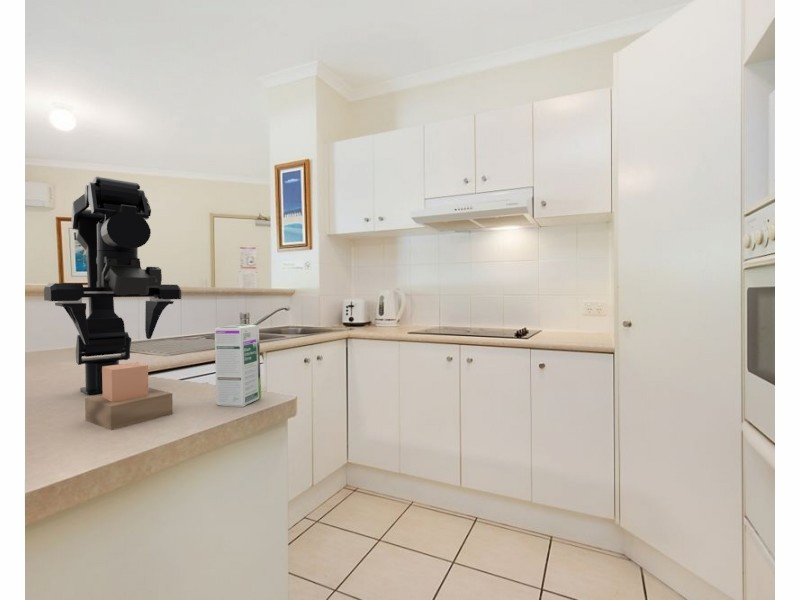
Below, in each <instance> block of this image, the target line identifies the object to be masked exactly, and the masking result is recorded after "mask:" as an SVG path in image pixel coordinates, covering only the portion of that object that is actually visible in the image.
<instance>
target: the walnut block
mask: <svg viewBox="0 0 800 600" xmlns="http://www.w3.org/2000/svg"><path fill="white" fill-rule="evenodd" d="M84 406H85V408H84V409H85V410H84V411H85V413H84V414H85V417H84V418H85V421H86V422H89V423H91V424H94V425H96V426H100V427H101V428H104V429H107V430H109V431H113V430H117V429H122V428H126V427H129V426H132V425H137V424H141V423H145V422H148V421H152V420H155V419H160V418H163V417H167V416H171V415H173V393H172V392H169V391H165V390H160V389H156V388H152V387H148V396H143V397H137V398H132V399H126V400H121V401H115V402H111V401H109V400H107V399H106V398H104V397H103V394H100V395H94V396H90V397H89V396H88V397H85V398H84Z"/></svg>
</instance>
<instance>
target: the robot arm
mask: <svg viewBox="0 0 800 600" xmlns="http://www.w3.org/2000/svg"><path fill="white" fill-rule="evenodd" d="M89 208H90V209H89ZM151 213H152V209H151V206H150V203H149V200H148V197H147V196H146V194H145V191H144V190H142V189H141V186H140V184H139V183H138V182H133V181H132V182H131V181H127V180H120V179H114V178H108V177H101V176H97V175H96V176H95V177H94V178H93V179H92V182H91V181H90V182H88V185H87V184H86V185H85V188H84V194H82V195H80V197H78V198H76V199H75V200H74V201H73V202H72V207H71V229H72V230H75V239H76V241H77V242H78V243H79V244H80V246H81V247H82V248H83V249H84V250H85V255H86V257H85V259H86V272H87V273H86V275H87V276H86V277H87V278H86V279H87V286H85V287H84V284H83V283H66V282H63V283H62V282H61V283H60V282H58V283H57V282H56V283H55V282H53V283H51V282H48V284H46V285H45V286H44V288H43V299H44V301H45V302H46V301H48V302H54V305H55V306H56V307H62V308H63V309H64V310H65V311H66V313H67V314H68V316H69V318H70V319H71V320H72V322H73V324H74V326H75V328H76V331H78V334H77V336H76V345H75V363H76V364H77V365H78V366H80V365H84V364H85V365H84V368H85V369H84V370H85V371H84V372H85V373H84V374H85V375H84V376H85V377H84V378H85V386H84V387H80V388H79V391H81V392H83V393H84V394H86V395H94V394H101V393H102V394H103V387H102V366H110V365H119V364H120V361H123V360H124V361H128V360H129V359H131V346H132V338H131V337H130V335H129V332H128V331H126V329H125V321H124V319H123V318H122V317H121V316H120V317H119V316H118V314H117V313H116V312H115V303H114V298H147V297H149V300H145V313H144V314H145V315H144V316H145V319H144V320H145V324H144V325H145V326H144V327H145V329H144V330H145V337H146V339H147V340H150V339H152V336H153V334H154V331H155V329H156V326H157V324H158V321H159V319H160V316H161V315H162V314H163V313H162V312H163V311H164V310H165V309H166V308H167V306H169V305H173V304H174V303H175V301H173V300H182V290H181V287H180V285H178V284H162V280H163V279H162V278H163V277H162V268H160V267H159V266H146V268H145V269H144V268H142V266H141V261H140V259H141V258H139V255H138V254H139V253H138V250H139V249H138V248H141V247H143V246H144V245H146V244H147V242H148V241H149V240H150V237H151V234H152V233H151V232H152V231H151V230H152V229H151V228H150V225H149V223H148V221H146V220H148V219H150V217H151ZM83 298H88V314H89V315H88V317H87V313H86V312H87V302H86V303H85V302H82V301H83Z"/></svg>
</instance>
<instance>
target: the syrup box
mask: <svg viewBox="0 0 800 600" xmlns="http://www.w3.org/2000/svg"><path fill="white" fill-rule="evenodd" d="M213 331H214V356H215V365H214V366H215V388H216V391H215V393H216V394H215V395H216V405H217V406H221V407H224V406H225V407H239V408H240V407H242V408H244V407H246V406H247V405H249V404H251V403H253V402H255V401H258V400H261V398H262V383H261V382H262V381H261V352H260V349H261V348H260V325H259V324H251V323H249V324H248V323H246V324H245V323H243V324H233V325H225V326H218V327H215V328H214V330H213Z"/></svg>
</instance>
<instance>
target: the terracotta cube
mask: <svg viewBox="0 0 800 600" xmlns="http://www.w3.org/2000/svg"><path fill="white" fill-rule="evenodd" d="M102 387H103V392H102V395H103V397H104V398H106V399H107V400H109V401H111V402H115V401H121V400H126V399H132V398H137V397H143V396H148V388H149V365H148V364H144V363H141V362H138V361H136V362H128V363H119V365H110V366H102Z"/></svg>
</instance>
